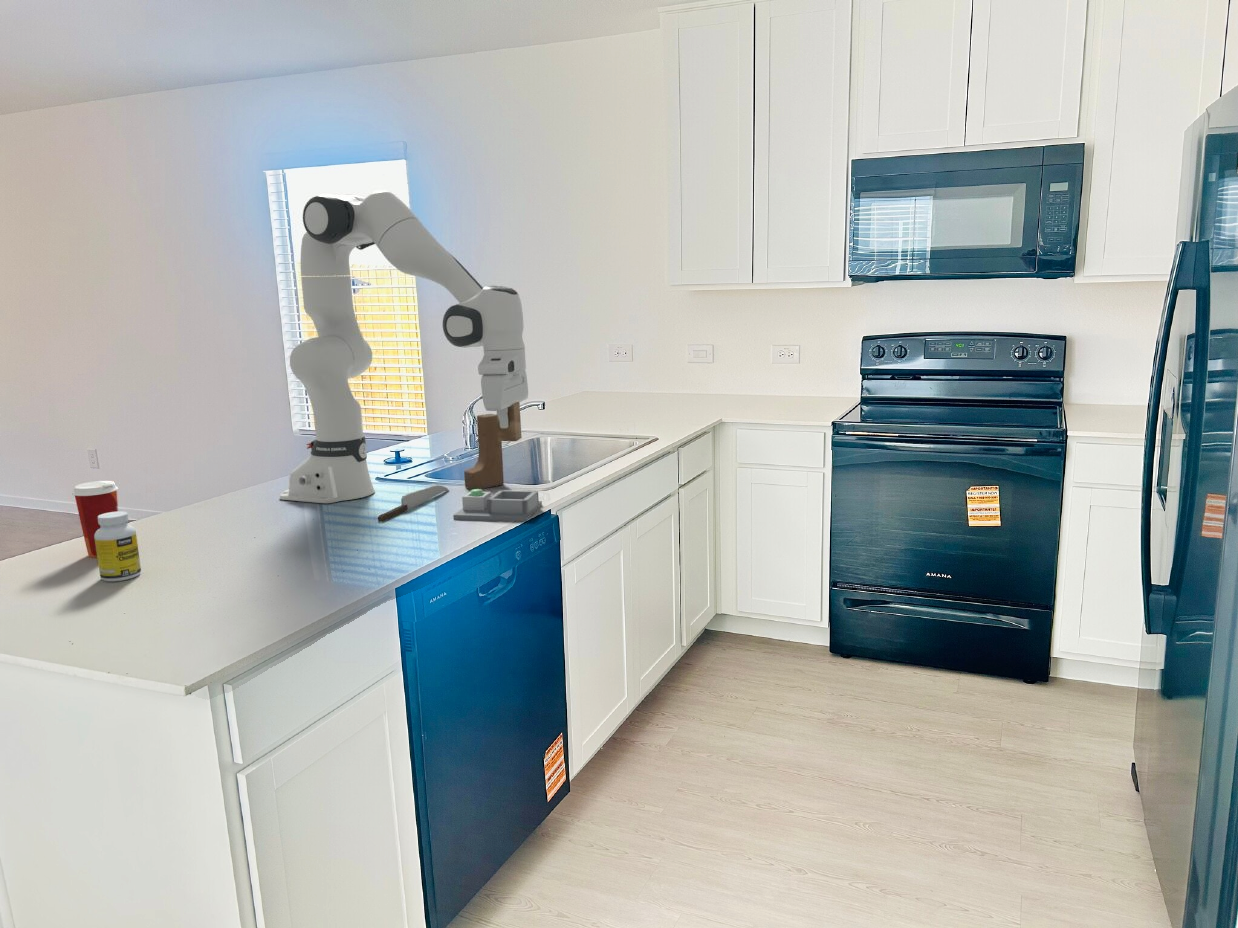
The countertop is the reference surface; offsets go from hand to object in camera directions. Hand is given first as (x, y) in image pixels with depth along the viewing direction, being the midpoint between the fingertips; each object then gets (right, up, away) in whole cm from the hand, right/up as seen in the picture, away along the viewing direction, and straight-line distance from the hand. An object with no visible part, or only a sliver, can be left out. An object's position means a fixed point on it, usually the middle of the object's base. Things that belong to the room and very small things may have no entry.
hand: (509, 425), depth 191 cm
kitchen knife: (-23, -18, +13) cm, 32 cm away
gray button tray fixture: (-3, -19, +5) cm, 20 cm away
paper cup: (-77, -26, -19) cm, 84 cm away
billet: (0, -3, +1) cm, 3 cm away
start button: (-8, -17, +6) cm, 20 cm away
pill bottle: (-66, -29, -33) cm, 79 cm away
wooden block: (-10, -14, +30) cm, 35 cm away
